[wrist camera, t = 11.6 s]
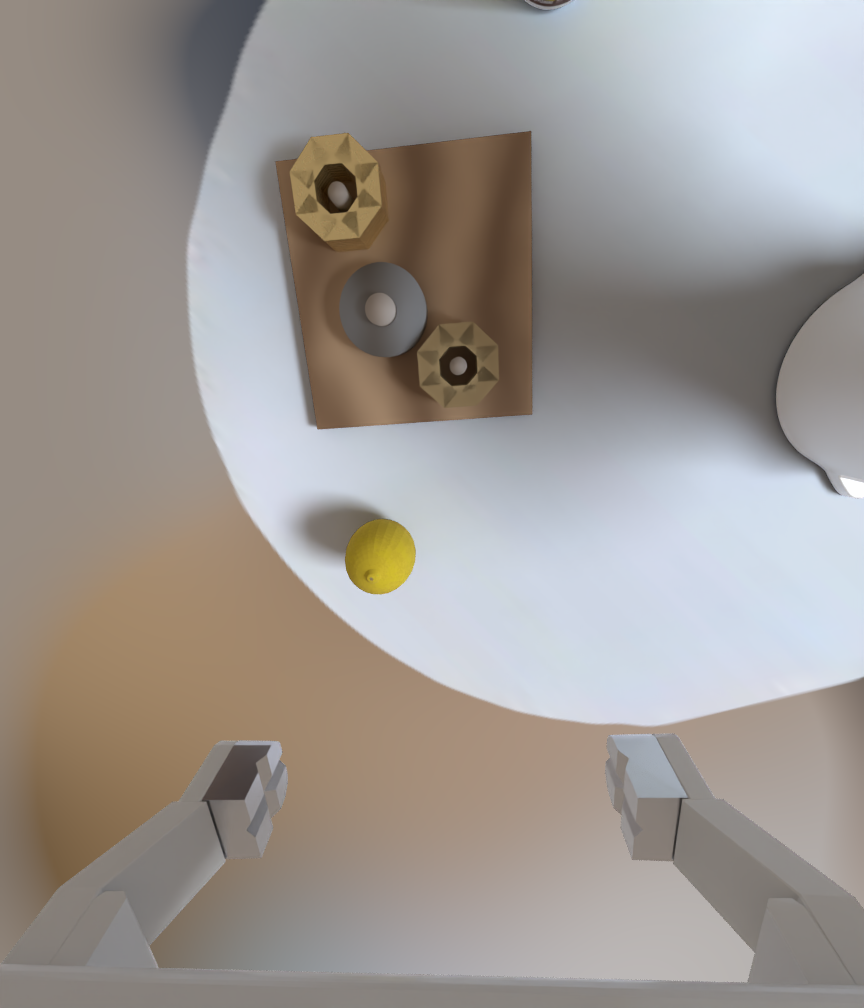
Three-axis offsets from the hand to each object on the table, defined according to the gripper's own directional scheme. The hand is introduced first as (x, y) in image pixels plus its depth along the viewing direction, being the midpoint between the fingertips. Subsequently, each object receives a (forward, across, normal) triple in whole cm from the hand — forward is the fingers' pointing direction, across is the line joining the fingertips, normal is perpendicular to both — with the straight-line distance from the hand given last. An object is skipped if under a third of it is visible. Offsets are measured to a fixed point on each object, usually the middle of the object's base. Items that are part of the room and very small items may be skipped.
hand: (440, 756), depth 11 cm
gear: (+26, +6, -20) cm, 33 cm away
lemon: (+27, +6, +5) cm, 28 cm away
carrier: (+27, +2, -14) cm, 31 cm away
